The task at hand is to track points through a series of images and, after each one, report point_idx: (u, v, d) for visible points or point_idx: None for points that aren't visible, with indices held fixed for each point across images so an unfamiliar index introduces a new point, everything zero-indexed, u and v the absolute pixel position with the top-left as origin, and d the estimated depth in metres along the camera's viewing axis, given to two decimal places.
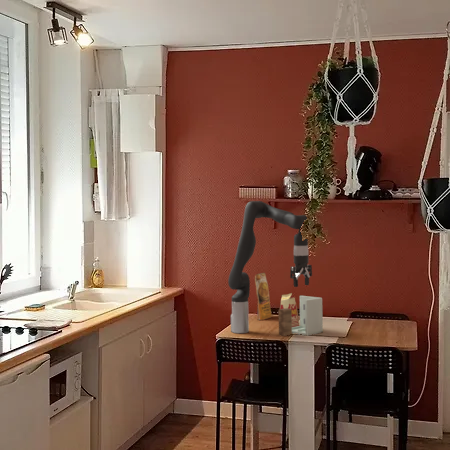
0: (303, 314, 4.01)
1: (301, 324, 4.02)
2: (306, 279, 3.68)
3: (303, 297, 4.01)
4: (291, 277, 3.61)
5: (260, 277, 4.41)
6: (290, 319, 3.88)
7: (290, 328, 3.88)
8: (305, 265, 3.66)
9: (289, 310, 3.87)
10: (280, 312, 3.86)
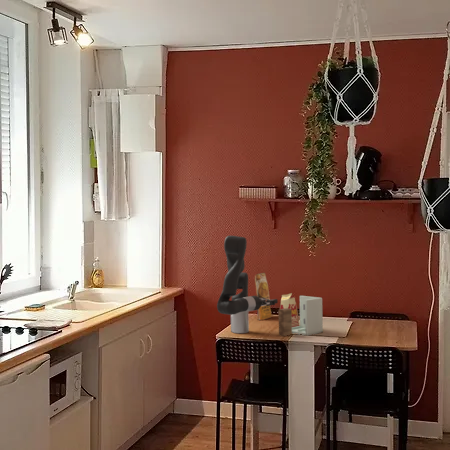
0: (303, 314, 4.01)
1: (301, 324, 4.02)
2: None
3: (303, 297, 4.01)
4: None
5: (260, 277, 4.41)
6: (290, 319, 3.88)
7: (290, 328, 3.88)
8: (260, 304, 3.71)
9: (289, 310, 3.87)
10: (280, 312, 3.86)
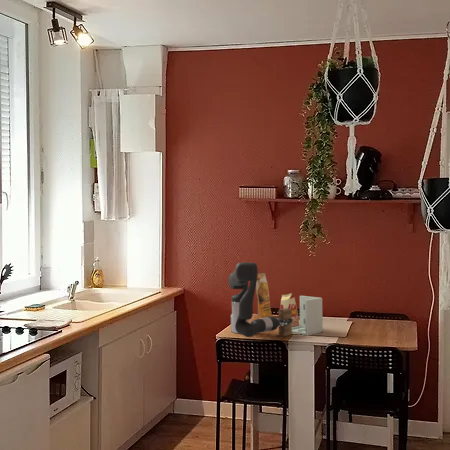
0: (303, 314, 4.01)
1: (301, 324, 4.02)
2: None
3: (303, 297, 4.01)
4: None
5: (260, 277, 4.41)
6: None
7: (290, 328, 3.88)
8: None
9: (289, 310, 3.87)
10: (280, 312, 3.86)
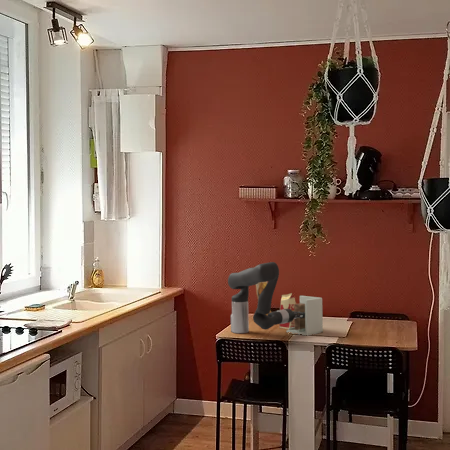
0: None
1: None
2: None
3: (303, 297, 4.01)
4: None
5: None
6: None
7: None
8: None
9: (304, 305, 3.96)
10: (296, 307, 3.95)
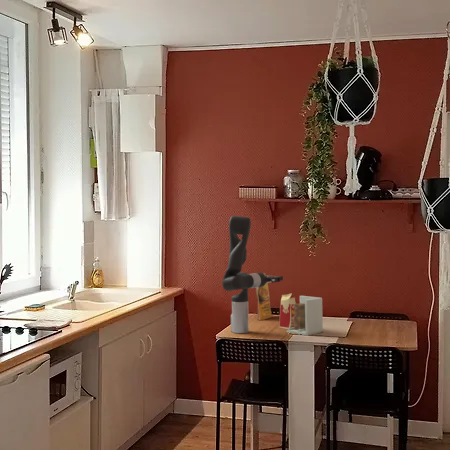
0: None
1: None
2: None
3: (303, 297, 4.01)
4: None
5: None
6: None
7: None
8: (265, 281, 3.72)
9: (304, 305, 3.96)
10: (296, 307, 3.95)
